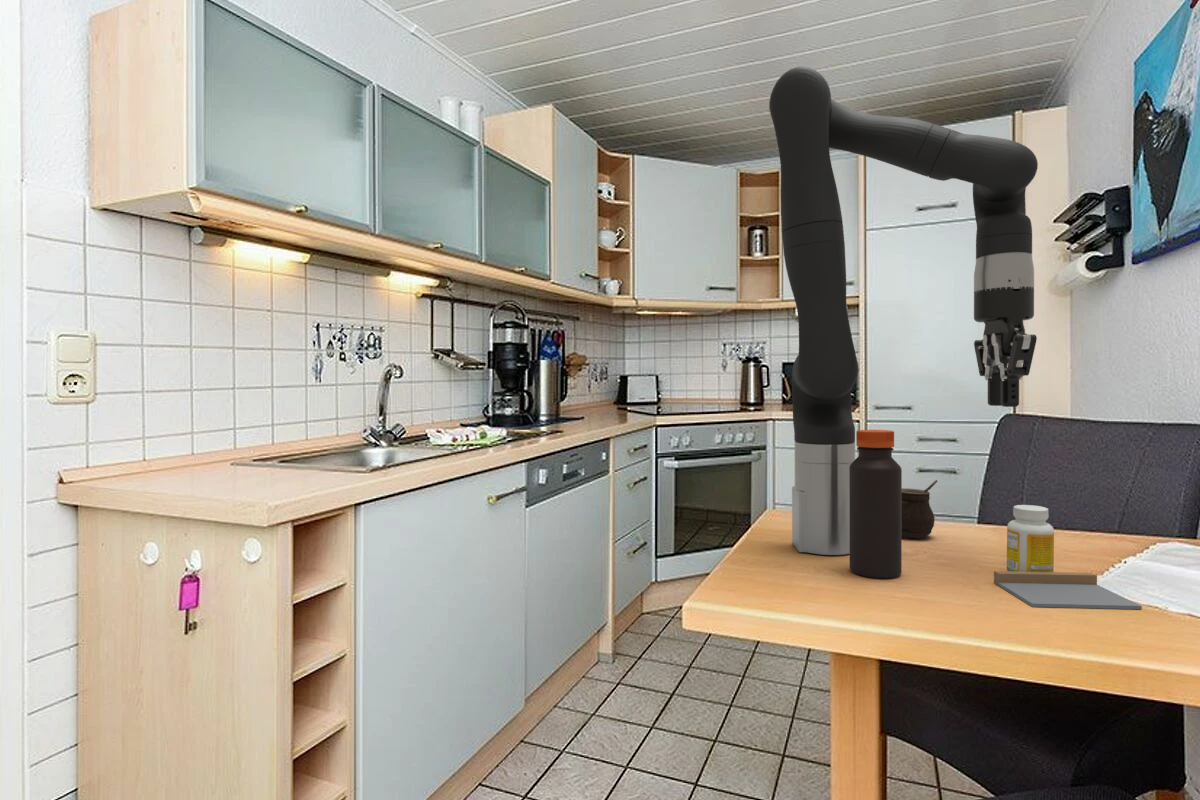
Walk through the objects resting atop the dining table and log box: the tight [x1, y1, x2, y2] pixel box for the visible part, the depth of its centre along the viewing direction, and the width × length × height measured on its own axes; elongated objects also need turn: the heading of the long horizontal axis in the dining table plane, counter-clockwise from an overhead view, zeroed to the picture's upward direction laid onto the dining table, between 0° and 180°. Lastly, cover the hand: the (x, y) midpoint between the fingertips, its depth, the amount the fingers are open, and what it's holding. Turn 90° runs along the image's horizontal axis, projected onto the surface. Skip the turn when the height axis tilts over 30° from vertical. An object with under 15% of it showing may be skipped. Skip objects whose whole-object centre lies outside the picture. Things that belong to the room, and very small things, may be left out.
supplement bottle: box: [1006, 504, 1055, 572], centre depth 90 cm, size 5×5×10 cm
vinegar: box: [849, 429, 903, 580], centre depth 93 cm, size 7×7×20 cm
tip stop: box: [993, 570, 1143, 610], centre depth 82 cm, size 12×9×2 cm
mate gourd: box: [902, 479, 938, 540], centre depth 115 cm, size 7×8×10 cm
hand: (1003, 405), depth 97 cm, fingers open, 3 cm apart
